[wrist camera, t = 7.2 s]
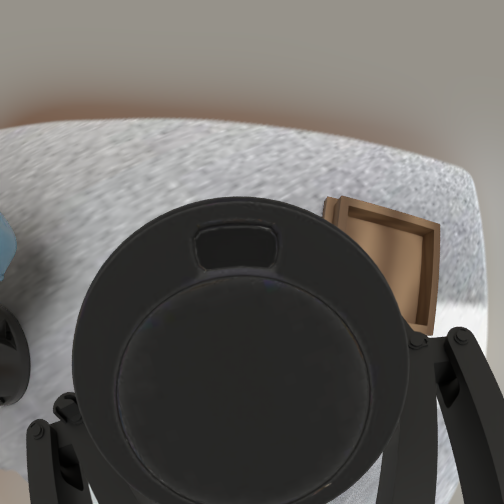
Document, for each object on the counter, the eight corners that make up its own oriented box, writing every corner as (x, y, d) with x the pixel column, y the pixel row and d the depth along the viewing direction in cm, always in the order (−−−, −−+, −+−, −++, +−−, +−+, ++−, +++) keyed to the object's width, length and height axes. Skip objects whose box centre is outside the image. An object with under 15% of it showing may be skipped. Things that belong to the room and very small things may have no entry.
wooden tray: (303, 326, 36) (312, 325, 31) (324, 201, 40) (334, 185, 35) (418, 344, 35) (437, 344, 31) (428, 229, 39) (445, 219, 35)
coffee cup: (263, 252, 22) (307, 116, 8) (331, 367, 21) (479, 410, 6) (145, 317, 21) (0, 286, 6) (214, 434, 19) (180, 580, 4)
